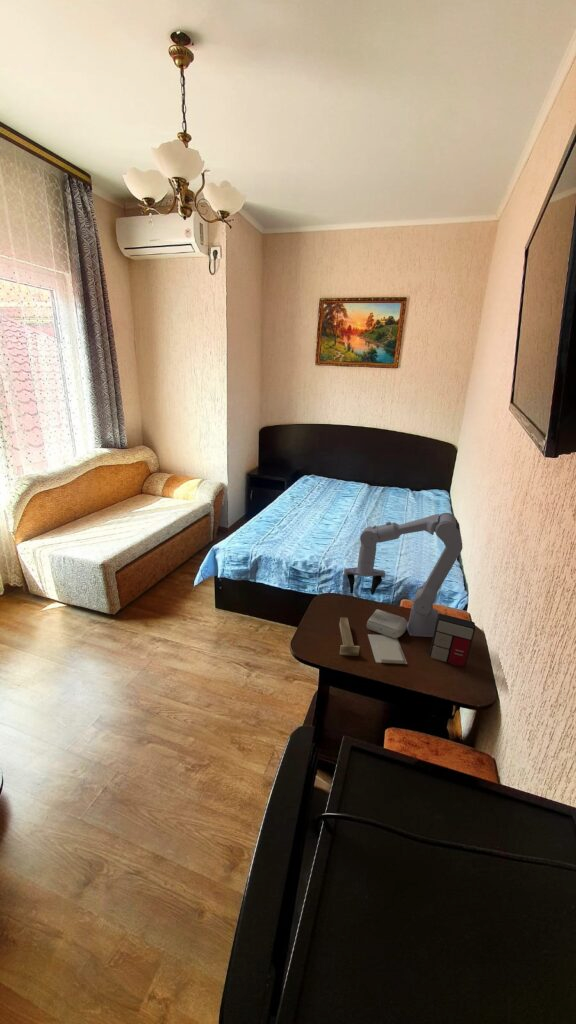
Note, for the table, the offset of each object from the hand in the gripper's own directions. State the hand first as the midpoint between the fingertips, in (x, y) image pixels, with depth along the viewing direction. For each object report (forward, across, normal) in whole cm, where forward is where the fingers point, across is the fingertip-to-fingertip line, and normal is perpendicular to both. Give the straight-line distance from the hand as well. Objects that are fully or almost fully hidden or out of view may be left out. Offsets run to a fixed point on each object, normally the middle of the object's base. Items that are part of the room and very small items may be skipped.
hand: (361, 592), depth 149 cm
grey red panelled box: (+10, -25, +23) cm, 35 cm away
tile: (+8, -6, +18) cm, 20 cm away
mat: (+9, -6, +20) cm, 22 cm away
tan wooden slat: (+10, +7, +16) cm, 20 cm away
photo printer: (+7, -3, +5) cm, 10 cm away
